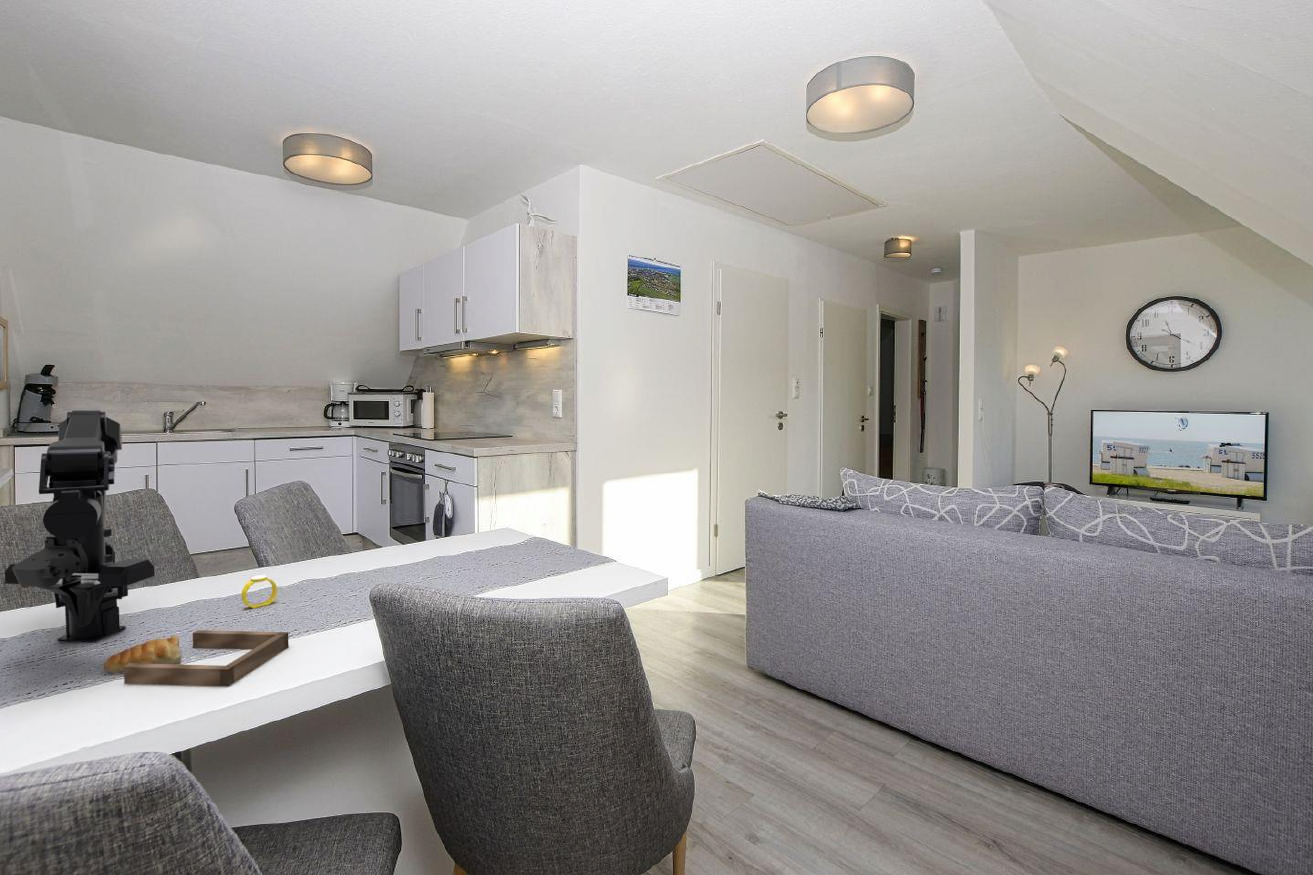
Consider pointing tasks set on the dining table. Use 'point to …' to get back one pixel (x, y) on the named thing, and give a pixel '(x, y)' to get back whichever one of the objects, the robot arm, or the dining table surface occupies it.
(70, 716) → the dining table surface
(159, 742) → the dining table surface
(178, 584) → the dining table surface
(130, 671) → the frame
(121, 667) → the pastry
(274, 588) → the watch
